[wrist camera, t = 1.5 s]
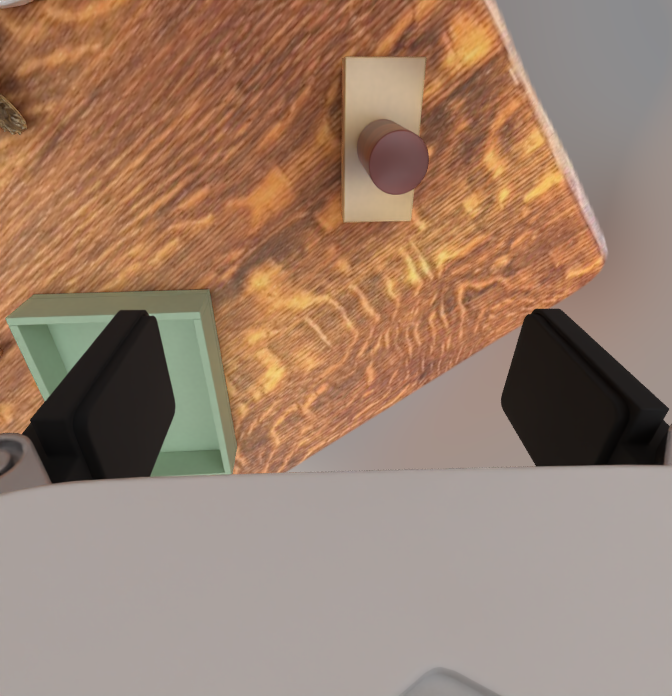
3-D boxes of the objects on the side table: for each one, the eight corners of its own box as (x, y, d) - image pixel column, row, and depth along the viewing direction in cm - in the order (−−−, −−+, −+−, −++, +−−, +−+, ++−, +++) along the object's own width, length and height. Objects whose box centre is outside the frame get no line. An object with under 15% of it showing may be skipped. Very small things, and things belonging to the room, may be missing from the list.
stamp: (340, 58, 26) (355, 52, 18) (414, 58, 26) (457, 52, 19) (339, 209, 31) (351, 252, 23) (401, 208, 31) (432, 250, 24)
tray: (33, 294, 33) (4, 318, 29) (209, 289, 33) (199, 311, 30) (101, 453, 42) (84, 485, 39) (237, 446, 43) (232, 477, 39)
